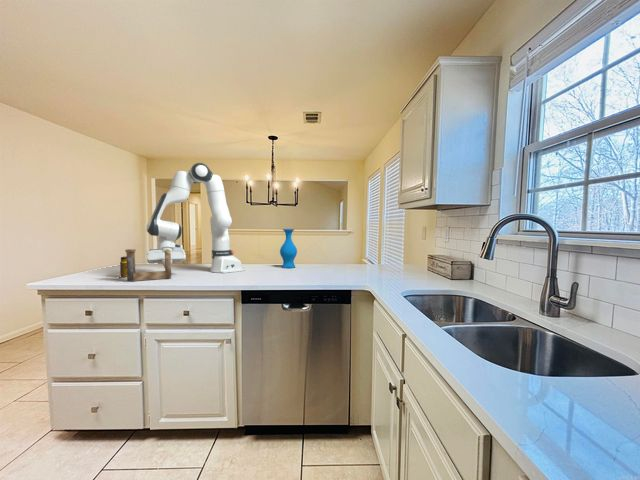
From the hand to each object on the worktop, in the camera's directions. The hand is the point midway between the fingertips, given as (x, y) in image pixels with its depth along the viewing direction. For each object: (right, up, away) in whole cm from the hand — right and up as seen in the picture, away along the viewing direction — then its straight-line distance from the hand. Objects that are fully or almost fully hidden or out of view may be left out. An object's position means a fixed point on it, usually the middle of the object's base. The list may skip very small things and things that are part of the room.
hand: (167, 267), depth 165 cm
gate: (-7, -6, -5) cm, 10 cm away
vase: (+66, -4, +43) cm, 79 cm away
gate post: (-16, -7, -6) cm, 19 cm away
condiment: (-27, -6, +3) cm, 28 cm away
